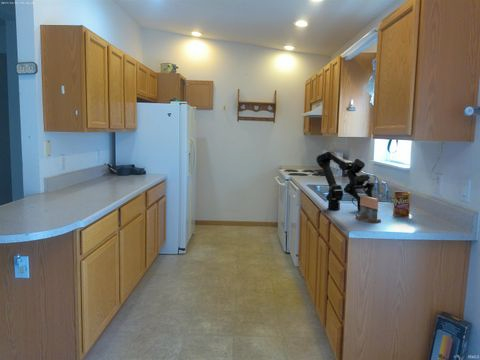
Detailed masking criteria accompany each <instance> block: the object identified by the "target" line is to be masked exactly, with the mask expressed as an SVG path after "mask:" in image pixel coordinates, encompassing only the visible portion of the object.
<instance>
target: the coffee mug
mask: <svg viewBox="0 0 480 360" xmlns="http://www.w3.org/2000/svg"><path fill="white" fill-rule="evenodd" d="M358 196H359V198H360V196H367V194H358ZM354 199H355V197H353V198H352V199H351V203H352V204H353V206H354V205H355V207H357V212H360V199H359V200H358V199H356V202H357V204H356V203H355V202H354V201H353V200H354Z"/></svg>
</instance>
